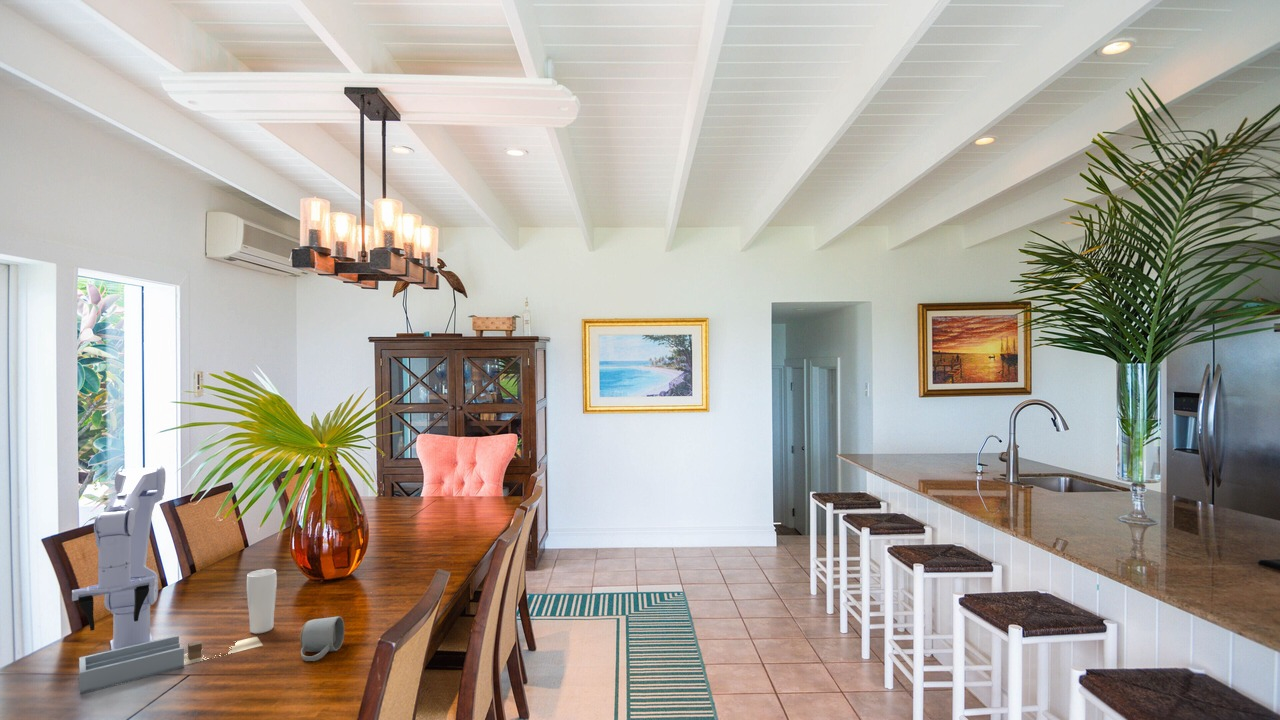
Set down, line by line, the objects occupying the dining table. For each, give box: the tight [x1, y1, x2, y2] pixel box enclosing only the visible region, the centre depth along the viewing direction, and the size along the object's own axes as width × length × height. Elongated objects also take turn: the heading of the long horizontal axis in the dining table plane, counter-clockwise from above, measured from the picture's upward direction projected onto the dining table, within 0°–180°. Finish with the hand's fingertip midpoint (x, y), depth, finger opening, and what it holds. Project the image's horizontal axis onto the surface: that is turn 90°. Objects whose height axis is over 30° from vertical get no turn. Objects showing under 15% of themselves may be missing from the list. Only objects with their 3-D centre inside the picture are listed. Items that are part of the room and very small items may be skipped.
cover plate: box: [184, 635, 264, 666], centre depth 157 cm, size 7×16×4 cm, turn 131°
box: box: [78, 634, 185, 695], centre depth 145 cm, size 10×18×4 cm, turn 131°
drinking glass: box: [246, 568, 278, 635], centre depth 169 cm, size 7×7×15 cm
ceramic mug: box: [299, 615, 345, 662], centre depth 155 cm, size 11×8×8 cm
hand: (114, 624), depth 146 cm, fingers open, 7 cm apart
